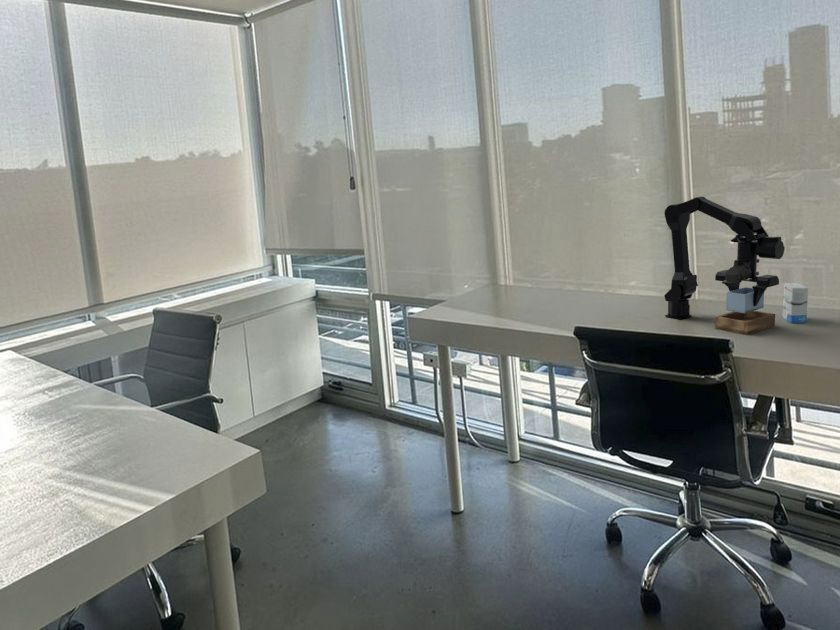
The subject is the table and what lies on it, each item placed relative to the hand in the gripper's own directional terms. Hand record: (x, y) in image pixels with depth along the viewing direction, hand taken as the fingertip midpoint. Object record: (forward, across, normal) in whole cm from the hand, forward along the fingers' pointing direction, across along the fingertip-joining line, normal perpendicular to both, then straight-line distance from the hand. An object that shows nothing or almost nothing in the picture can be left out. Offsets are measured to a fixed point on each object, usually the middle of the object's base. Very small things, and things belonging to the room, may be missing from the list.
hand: (745, 304), depth 218 cm
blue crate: (+2, 0, 0) cm, 2 cm away
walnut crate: (+8, 0, 0) cm, 8 cm away
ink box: (+8, +6, +18) cm, 21 cm away
